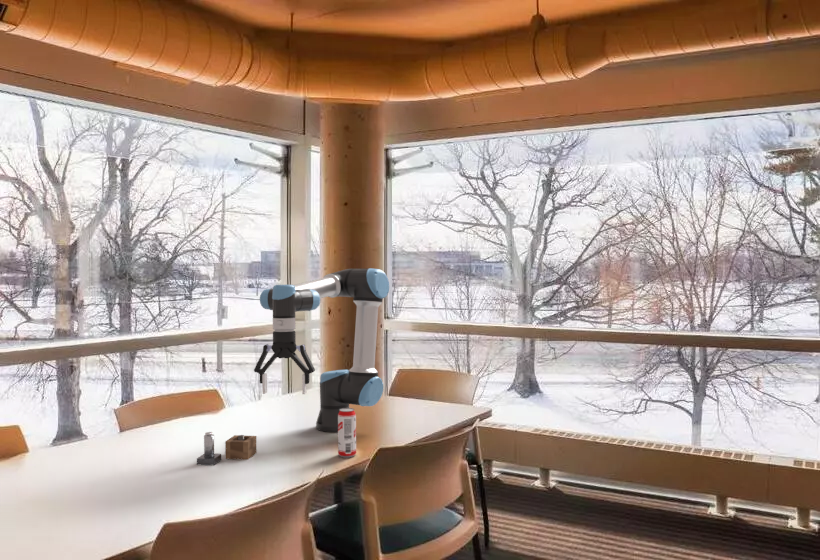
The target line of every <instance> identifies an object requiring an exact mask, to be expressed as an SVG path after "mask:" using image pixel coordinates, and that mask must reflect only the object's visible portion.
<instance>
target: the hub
mask: <svg viewBox="0 0 820 560" xmlns="http://www.w3.org/2000/svg"><path fill="white" fill-rule="evenodd" d="M203 451H204V452H203V454H201V455H200V456H198V457H197V458H196V465H198V464H201V465H204V466H215V465H217V463H219V462H220V461H222V455H223V454H222V453H215V434H213V432H212V431H208V432H205V433H204V435H203Z"/></svg>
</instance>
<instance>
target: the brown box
mask: <svg viewBox="0 0 820 560" xmlns="http://www.w3.org/2000/svg"><path fill="white" fill-rule="evenodd" d="M239 435H240V434H239ZM239 435H237V434H235V435H233V436H231V437H230V438H228V439H227V440H225V442H224V444H225V448H224V449H225V452H224V453H225V459H226V460H243V461H244V460H249V459H251V458H252V457H253V456H255V455H256V454H257V451H258V450H257V435H244V441H242V440H238V436H239Z"/></svg>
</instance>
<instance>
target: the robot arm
mask: <svg viewBox="0 0 820 560" xmlns="http://www.w3.org/2000/svg"><path fill="white" fill-rule="evenodd" d="M389 292H390V281H389V279H388V276H387V273H385V272H384V270H382V269H379V268H371V267H370V268H346V269H343V270H338V271H336V272H331V273H328V274H327V273H326V275H324V276H323V277H321V278H317V279H312V280H308V281H305V282H300V283H296V284H274V286H273V287H272V288H267V289H264V290H263V291H262V292H261V293H260V295H259V303H260V306H261V307H262V308H263V309H265V310H270V311H272V330H274V331H273V332H272V345H271V344H268V343H267V344H264V345H263V346H262V352H261V354H260V357H259V358H258V360H257V362H256V365H255V366H254V369H253V371H254V373H258V374H259V384H262V394H263V395H264V394H267V393H268V373H267V372H266V371H267V370H268V369H269V368H270V366H271V365H272V364H273V363H274V362H275V360H277V358H278V359H283V358H284V359H289V358H291V360H292V361H293V362H294V363H295V364H296V365H297V366H298V368H299V369H300V370H301V371H302V372H303V374H302V376H301V378H302V379H301V382H302V384H301V385H302V386H301V387H302V388H301V390H302V392H301V393H302V395H306V394H307V387H308V386H307V385H308V384H310V374H312V373H314V372H315V370H316V369H315V367H314V365H313V363H312V361H311V358H310V357H309V355H308V353H307V349H306V345H305V344H301V345H300V344H299V345H297V344H296V331H295V329H296V312H310V311H314V310H316V309H318V308H319V306H320V303H321V299H323V298H327V297H329V298H332V299H333V298H337V297H342V298H343V297H345V298H346V297H347V298H353V299H352V300H353V301H352V302H353V303H354V304H355V306H356V311H355V312H356V313H355V314H356V315H355V330H354V342H353V343H354V344H353V346H354V347H353V361H352V363H353V364H352V367H351V368H349V369H336V370H329V371H324V372H322V373H321V374H320V378H319V379H320V382H319V397H320V398H319V400H320V402H319V404H320V405H319V406H320V408H319V412H318V416H317V419H316V423H315V425H316V426H315V429H316V430H318V431H320V432H325V433H326V432H329V433H333V432H334V433H338V413H339V411H340V409H342V408H350V405H353V406H354V405H355V406H361V407H373V406H376V404H377V403H379V401H380V399H381V398H382V396H383V392H384V382H383V380H382V378H381V377H379V371H378V370H377V369H376V368H375V365H376V350H377V349H376V348H377V334H378V332H377V331H378V317H379V307H380V306H381V305H382V304H383V299H386V297H387V296H388V295H389ZM271 350H272V352H273V354H272V355H271V357H270V358H269V359H268V361H267V362H266V363H265V364H264V362H265V359H266V358H267V355H268V354H269V352H270V351H271ZM297 350H298V351H299V352H300V355H301V357H302V359H303V361H304V363H305V364H304V363H303V361H302V360H301V359H300V358H299V356H298V355H297V353H296V351H297ZM263 364H264V365H263ZM262 366H263V367H262Z"/></svg>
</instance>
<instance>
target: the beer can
mask: <svg viewBox="0 0 820 560" xmlns="http://www.w3.org/2000/svg"><path fill="white" fill-rule="evenodd" d="M337 454H338V456H340V458H345V459H346V458H353V457H354V456H355V455H356V454H357V415H356V412H355V408H353V407H349V408H342V409H340V411H339V413H338V432H337Z"/></svg>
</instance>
